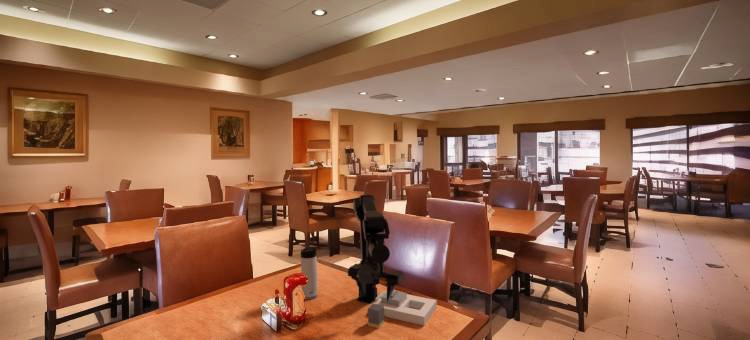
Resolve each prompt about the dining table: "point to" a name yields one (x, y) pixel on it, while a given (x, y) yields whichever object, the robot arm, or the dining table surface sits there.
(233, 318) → the dining table surface
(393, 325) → the dining table surface
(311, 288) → the travel mug
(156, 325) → the dining table surface
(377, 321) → the plug
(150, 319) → the dining table surface
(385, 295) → the block
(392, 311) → the socket
